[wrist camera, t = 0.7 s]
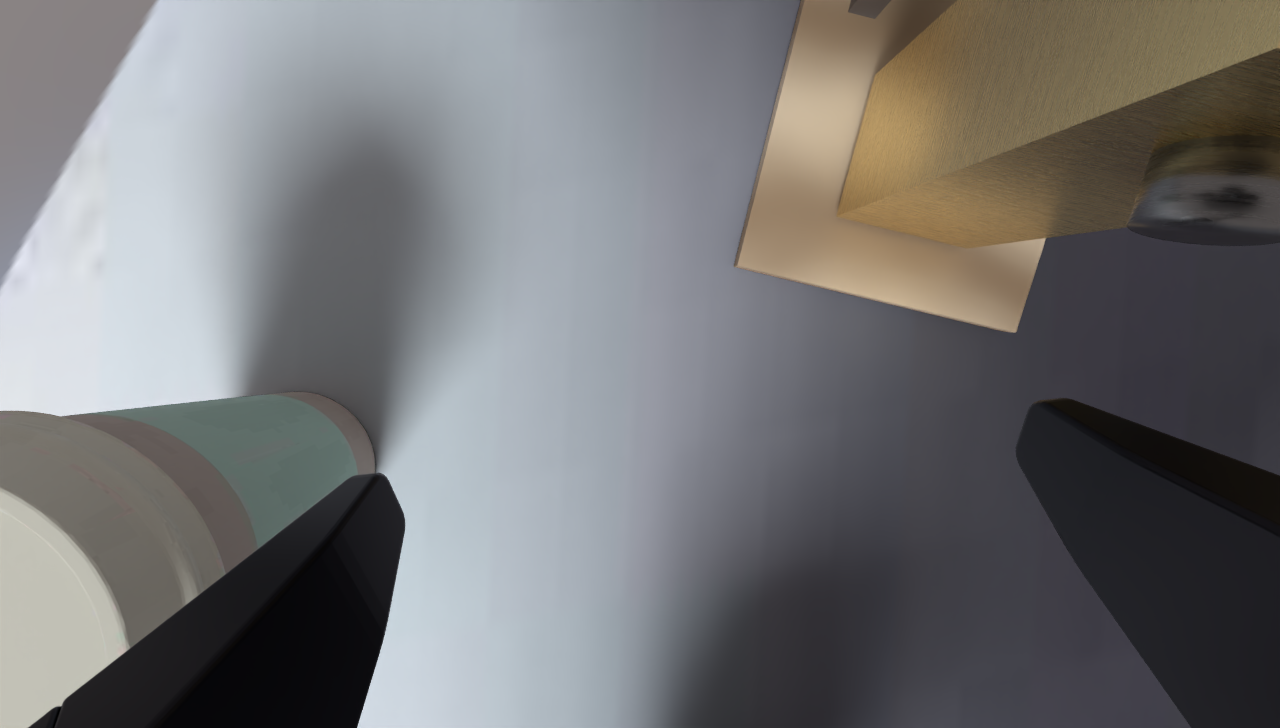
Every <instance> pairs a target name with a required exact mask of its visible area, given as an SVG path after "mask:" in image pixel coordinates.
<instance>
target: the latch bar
mask: <svg viewBox="0 0 1280 728" xmlns="http://www.w3.org/2000/svg"><path fill="white" fill-rule="evenodd" d="M836 217H840V218H844V219H848V220H852V221H856V222H860V223H864V224H868V225H873V226H877V227H881V228H885V229H889V230H893V231H897V232H901V233H905V234H909V235H913V236H917V237H921V238H926V239H930V240H934V241H938V242H942V243H946V244H950V245H954V246H958V247H962V248H966V249H968V248H976V247H983V246H990V245H998V244H1005V243H1013V242H1020V241H1028V240H1035V239H1042V238H1050V237H1057V236H1065V235H1072V234H1080V233H1087V232H1094V231H1102V230H1109V229H1117V228H1124V227H1128V228H1129V229H1130V230H1131V231H1133V232H1135V233H1138V234H1141V235H1144V236H1148V237H1152V238H1156V239H1161V240H1167V241H1173V242H1181V243H1190V244H1201V245H1219V246H1251V245H1265V244H1273V243H1279V242H1280V0H957V1H956V2H955V3H953V4H952V5H951V6H950V7H949V8H948V9H947V10H946V11H945V12H944V13H942V14H941V15H940V16H939V17H938V18H937V19H936V20H935V21H934V22H933V23H931V24H930V25H929V26H928V27H927V28H926V29H925V30H924V31H923V32H922V33H921V34H919V35H918V36H917V37H916V38H915V39H914V40H913V41H912V42H911V43H910V44H908V45H907V46H906V47H905V48H904V49H903V50H902V51H901V52H900V53H899V54H898V55H896V56H895V57H894V58H893V59H892V60H891V61H890V62H889V63H888V64H887V65H885V66H884V67H883V68H882V69H881V70H880V71H879V72H878V73H877V74H876V75H875V76H874V80H873V83H872V87H871V91H870V94H869V98H868V102H867V105H866V109H865V113H864V116H863V120H862V124H861V127H860V131H859V135H858V138H857V142H856V146H855V149H854V153H853V157H852V160H851V164H850V168H849V171H848V175H847V179H846V182H845V186H844V190H843V193H842V197H841V201H840V205H839V208H838V212H837V216H836Z"/></svg>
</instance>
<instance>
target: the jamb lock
mask: <svg viewBox="0 0 1280 728" xmlns="http://www.w3.org/2000/svg"><path fill="white" fill-rule="evenodd" d="M956 1H957V0H801V2H800V6H799V10H798V14H797V18H796V22H795V26H794V30H793V34H792V38H791V42H790V46H789V50H788V54H787V58H786V62H785V65H784V69H783V73H782V77H781V81H780V85H779V89H778V93H777V97H776V101H775V105H774V109H773V113H772V117H771V121H770V125H769V129H768V133H767V137H766V141H765V145H764V149H763V153H762V157H761V160H760V164H759V168H758V172H757V176H756V180H755V184H754V188H753V192H752V196H751V200H750V204H749V208H748V212H747V216H746V220H745V224H744V228H743V232H742V236H741V240H740V244H739V248H738V252H737V255H736V259H735V263H734V267H737V268H741V269H745V270H749V271H753V272H758V273H762V274H766V275H770V276H774V277H778V278H783V279H787V280H791V281H795V282H799V283H803V284H807V285H812V286H816V287H820V288H824V289H828V290H832V291H837V292H841V293H845V294H849V295H853V296H857V297H862V298H866V299H870V300H874V301H878V302H882V303H887V304H891V305H895V306H899V307H903V308H907V309H912V310H916V311H920V312H924V313H928V314H932V315H936V316H941V317H945V318H949V319H953V320H957V321H961V322H966V323H970V324H974V325H978V326H982V327H986V328H991V329H995V330H999V331H1004V332H1014V333H1016V331H1017V327H1018V324H1019V321H1020V318H1021V315H1022V312H1023V309H1024V306H1025V302H1026V299H1027V296H1028V293H1029V290H1030V287H1031V284H1032V281H1033V277H1034V274H1035V271H1036V268H1037V265H1038V262H1039V259H1040V256H1041V252H1042V249H1043V246H1044V243H1045V240H1046V238H1042V239H1035V240H1028V241H1020V242H1013V243H1005V244H998V245H990V246H983V247H976V248H968V249H966V248H962V247H958V246H954V245H950V244H946V243H942V242H938V241H934V240H930V239H926V238H921V237H917V236H913V235H909V234H905V233H901V232H897V231H893V230H889V229H885V228H881V227H877V226H873V225H868V224H864V223H860V222H856V221H852V220H848V219H844V218H840V217H836V216H837V212H838V208H839V205H840V201H841V197H842V193H843V190H844V186H845V182H846V179H847V175H848V171H849V168H850V164H851V160H852V157H853V153H854V149H855V146H856V142H857V138H858V135H859V131H860V127H861V124H862V120H863V116H864V113H865V109H866V105H867V102H868V98H869V94H870V91H871V87H872V83H873V80H874V76H875V75H876V74H877V73H878V72H879V71H880V70H881V69H882V68H883V67H884V66H885V65H887V64H888V63H889V62H890V61H891V60H892V59H893V58H894V57H895V56H896V55H898V54H899V53H900V52H901V51H902V50H903V49H904V48H905V47H906V46H907V45H908V44H910V43H911V42H912V41H913V40H914V39H915V38H916V37H917V36H918V35H919V34H921V33H922V32H923V31H924V30H925V29H926V28H927V27H928V26H929V25H930V24H931V23H933V22H934V21H935V20H936V19H937V18H938V17H939V16H940V15H941V14H942V13H944V12H945V11H946V10H947V9H948V8H949V7H950V6H951V5H952V4H953V3H955V2H956Z"/></svg>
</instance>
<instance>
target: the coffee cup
mask: <svg viewBox="0 0 1280 728" xmlns="http://www.w3.org/2000/svg"><path fill="white" fill-rule="evenodd" d="M370 473H375V457H374V452H373V448H372V444H371V442H370V439H369V437H368V435H367V433H366V431H365V429H364V428H363V426H362V425H361V424H360V422H359V421H358V420H357V419H356V417H355V416H354V415H353V414H352V413H351V412H349V411H348V410H347V409H346V408H344V407H343V406H342V405H340V404H339V403H337V402H335V401H333V400H331V399H329V398H327V397H324V396H321V395H318V394H314V393H308V392H285V393H275V394H265V395H255V396H245V397H236V398H227V399H218V400H208V401H199V402H190V403H181V404H171V405H162V406H153V407H143V408H134V409H125V410H116V411H106V412H97V413H88V414H79V415H70V416H62V417H60V416H55V415H50V414H44V413H37V412H27V411H0V728H28V727H29V726H31V725H32V724H33V723H35V722H36V721H37V720H38V719H40V718H41V717H42V716H43V715H45V714H46V713H47V712H49V711H50V710H51V709H52V708H54V707H56V706H62V703H63V701H64V700H65V699H66V698H67V697H68V696H69V695H71V694H72V693H73V692H75V691H76V690H77V689H78V688H80V687H81V686H82V685H84V684H85V683H86V682H87V681H89V680H90V679H91V678H93V677H94V676H95V675H96V674H98V673H99V672H100V671H102V670H103V669H104V668H105V667H107V666H108V665H109V664H111V663H112V662H113V661H114V660H116V659H117V658H118V657H119V656H121V655H122V654H123V653H125V652H126V651H127V650H128V649H130V648H131V647H132V646H134V645H135V644H136V643H137V642H139V641H140V640H141V639H143V638H144V637H145V636H146V635H148V634H149V633H150V632H152V631H153V630H154V629H155V628H157V627H158V626H159V625H161V624H162V623H163V622H164V621H166V620H167V619H168V618H170V617H171V616H172V615H173V614H175V613H176V612H177V611H179V610H180V609H181V608H182V607H184V606H185V605H186V604H188V603H189V602H190V601H191V600H193V599H194V598H195V597H197V596H198V595H199V594H200V593H202V592H203V591H204V590H206V589H207V588H208V587H209V586H211V585H212V584H213V583H215V582H216V581H217V580H218V579H220V578H221V577H222V576H224V575H225V574H226V573H227V572H229V571H230V570H231V569H233V568H234V567H235V566H236V565H238V564H239V563H240V562H242V561H243V560H244V559H245V558H247V557H248V556H249V555H251V554H252V553H253V552H254V551H256V550H257V549H258V548H259V547H261V546H262V545H263V544H265V543H266V542H267V541H268V540H270V539H271V538H272V537H274V536H275V535H276V534H277V533H279V532H280V531H281V530H283V529H284V528H285V527H286V526H288V525H289V524H290V523H292V522H293V521H294V520H295V519H297V518H298V517H299V516H301V515H302V514H303V513H304V512H306V511H307V510H308V509H310V508H311V507H312V506H313V505H315V504H316V503H317V502H319V501H320V500H321V499H322V498H324V497H325V496H326V495H328V494H329V493H330V492H331V491H333V490H334V489H335V488H337V487H338V486H339V485H340V484H342V483H343V482H344V481H345V480H347V479H348V478H350V477H352V476H355V475H361V474H370Z"/></svg>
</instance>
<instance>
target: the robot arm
mask: <svg viewBox="0 0 1280 728" xmlns="http://www.w3.org/2000/svg"><path fill="white" fill-rule="evenodd" d="M1016 457H1017V461H1018V463H1019V466H1020V467H1021V469H1022V471H1023V473H1024V474H1025V476H1026V478H1027V480H1028V481H1029V483H1030V485H1031V487H1032V489H1033V490H1034V492H1035V494H1036V496H1037V497H1038V499H1039V501H1040V503H1041V504H1042V506H1043V508H1044V510H1045V511H1046V513H1047V515H1048V517H1049V518H1050V520H1051V522H1052V524H1053V525H1054V527H1055V529H1056V531H1057V533H1058V534H1059V536H1060V538H1061V540H1062V541H1063V543H1064V545H1065V546H1066V548H1067V550H1068V551H1069V553H1070V555H1071V556H1072V558H1073V560H1074V561H1075V563H1076V564H1077V566H1078V567H1079V569H1080V570H1081V572H1082V573H1083V575H1084V576H1085V578H1086V579H1087V581H1088V582H1089V583H1090V585H1091V586H1092V588H1093V589H1094V590H1095V592H1096V593H1097V595H1098V596H1099V598H1100V599H1101V600H1102V602H1103V603H1104V605H1105V606H1106V607H1107V609H1108V610H1109V612H1110V613H1111V615H1112V616H1113V617H1114V619H1115V620H1116V622H1117V623H1118V624H1119V626H1120V627H1121V629H1122V630H1123V632H1124V633H1125V634H1126V636H1127V637H1128V639H1129V640H1130V641H1131V643H1132V644H1133V646H1134V647H1135V648H1136V650H1137V651H1138V653H1139V654H1140V656H1141V657H1142V658H1143V660H1144V661H1145V663H1146V664H1147V665H1148V667H1149V668H1150V670H1151V671H1152V673H1153V674H1154V675H1155V677H1156V678H1157V680H1158V681H1159V682H1160V684H1161V685H1162V687H1163V688H1164V690H1165V691H1166V692H1167V694H1168V695H1169V697H1170V698H1171V699H1172V701H1173V702H1174V704H1175V705H1176V707H1177V708H1178V709H1179V711H1180V712H1181V714H1182V715H1183V716H1184V718H1185V719H1186V721H1187V722H1188V724H1189V725H1190V726H1191V728H1280V476H1279V475H1276V474H1274V473H1271V472H1268V471H1266V470H1263V469H1260V468H1257V467H1255V466H1252V465H1249V464H1247V463H1244V462H1241V461H1238V460H1236V459H1233V458H1230V457H1227V456H1225V455H1222V454H1219V453H1217V452H1214V451H1211V450H1208V449H1206V448H1203V447H1200V446H1197V445H1195V444H1192V443H1189V442H1187V441H1184V440H1181V439H1178V438H1176V437H1173V436H1170V435H1168V434H1165V433H1162V432H1159V431H1157V430H1154V429H1151V428H1148V427H1146V426H1143V425H1140V424H1138V423H1135V422H1132V421H1129V420H1127V419H1124V418H1121V417H1119V416H1116V415H1113V414H1110V413H1108V412H1105V411H1102V410H1099V409H1097V408H1094V407H1091V406H1089V405H1086V404H1083V403H1080V402H1078V401H1075V400H1072V399H1068V398H1058V399H1049V400H1040V401H1037V402H1035V403H1033V404H1032V405H1031V406H1030V407H1029V409H1028V412H1027V415H1026V418H1025V421H1024V424H1023V427H1022V430H1021V433H1020V436H1019V439H1018V442H1017V445H1016ZM404 533H405V518H404V514H403V511H402V509H401V506H400V504H399V502H398V500H397V498H396V495H395V493H394V491H393V489H392V487H391V484H390V482H389V480H388V479H387V477H386V476H385V475H384V474H381V473H370V474H361V475H355V476H352V477H350V478H348V479H347V480H345V481H344V482H343V483H342V484H340V485H339V486H338V487H337V488H335V489H334V490H333V491H331V492H330V493H329V494H328V495H326V496H325V497H324V498H322V499H321V500H320V501H319V502H317V503H316V504H315V505H313V506H312V507H311V508H310V509H308V510H307V511H306V512H304V513H303V514H302V515H301V516H299V517H298V518H297V519H295V520H294V521H293V522H292V523H290V524H289V525H288V526H286V527H285V528H284V529H283V530H281V531H280V532H279V533H277V534H276V535H275V536H274V537H272V538H271V539H270V540H268V541H267V542H266V543H265V544H263V545H262V546H261V547H259V548H258V549H257V550H256V551H254V552H253V553H252V554H251V555H249V556H248V557H247V558H245V559H244V560H243V561H242V562H240V563H239V564H238V565H236V566H235V567H234V568H233V569H231V570H230V571H229V572H227V573H226V574H225V575H224V576H222V577H221V578H220V579H218V580H217V581H216V582H215V583H213V584H212V585H211V586H209V587H208V588H207V589H206V590H204V591H203V592H202V593H200V594H199V595H198V596H197V597H195V598H194V599H193V600H191V601H190V602H189V603H188V604H186V605H185V606H184V607H182V608H181V609H180V610H179V611H177V612H176V613H175V614H173V615H172V616H171V617H170V618H168V619H167V620H166V621H164V622H163V623H162V624H161V625H159V626H158V627H157V628H155V629H154V630H153V631H152V632H150V633H149V634H148V635H146V636H145V637H144V638H143V639H141V640H140V641H139V642H137V643H136V644H135V645H134V646H132V647H131V648H130V649H128V650H127V651H126V652H125V653H123V654H122V655H121V656H119V657H118V658H117V659H116V660H114V661H113V662H112V663H111V664H109V665H108V666H107V667H105V668H104V669H103V670H102V671H100V672H99V673H98V674H96V675H95V676H94V677H93V678H91V679H90V680H89V681H87V682H86V683H85V684H84V685H82V686H81V687H80V688H78V689H77V690H76V691H75V692H73V693H72V694H71V695H69V696H68V697H67V698H66V699H65V700H64V701H63V703H62V706H56V707H54V708H52V709H51V710H50V711H49V712H47V713H46V714H45V715H43V716H42V717H41V718H40V719H38V720H37V721H36V722H35V723H33V724H32V725H31V726H29V727H28V728H357V726H358V723H359V719H360V716H361V713H362V709H363V706H364V703H365V700H366V696H367V693H368V690H369V686H370V683H371V680H372V676H373V673H374V670H375V667H376V663H377V660H378V657H379V653H380V650H381V646H382V643H383V639H384V635H385V631H386V626H387V622H388V617H389V612H390V607H391V601H392V596H393V591H394V585H395V580H396V575H397V570H398V564H399V559H400V554H401V548H402V543H403V538H404Z"/></svg>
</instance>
